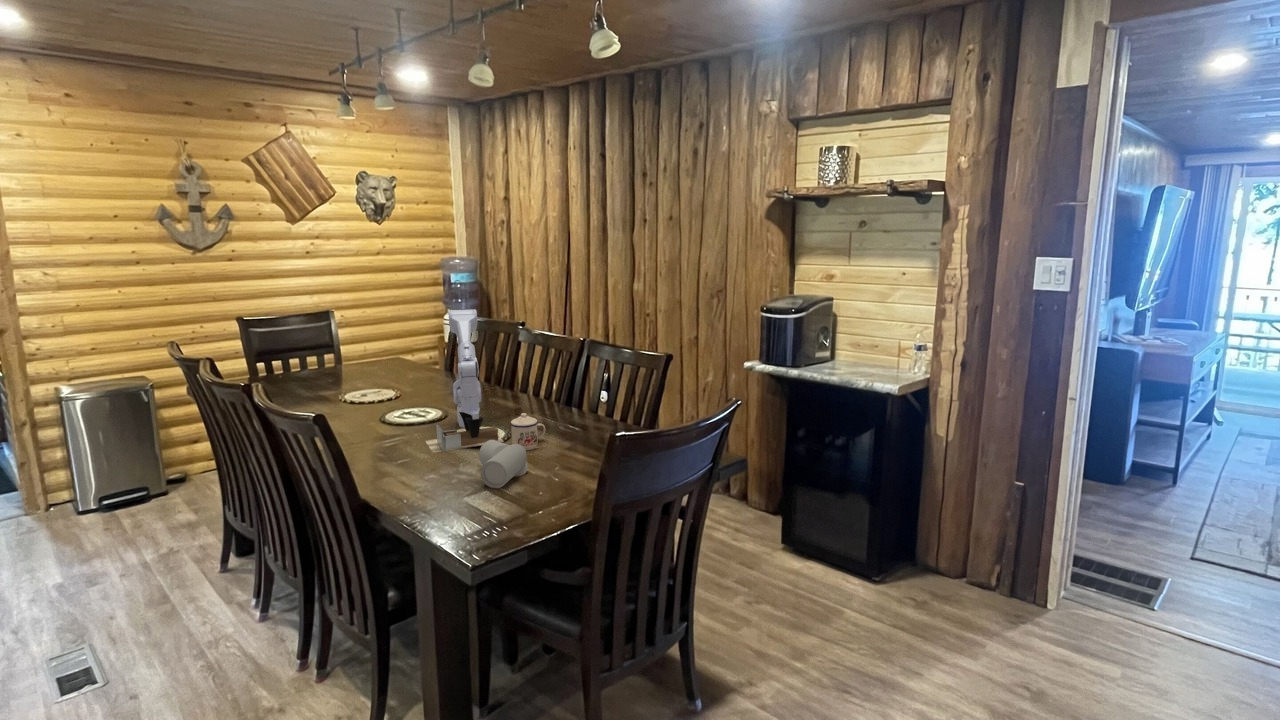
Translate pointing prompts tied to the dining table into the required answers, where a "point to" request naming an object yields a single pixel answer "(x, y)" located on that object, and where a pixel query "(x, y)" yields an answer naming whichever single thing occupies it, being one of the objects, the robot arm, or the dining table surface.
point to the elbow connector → (501, 462)
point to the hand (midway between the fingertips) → (471, 434)
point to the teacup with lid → (525, 431)
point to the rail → (483, 436)
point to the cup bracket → (447, 439)
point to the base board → (435, 448)
